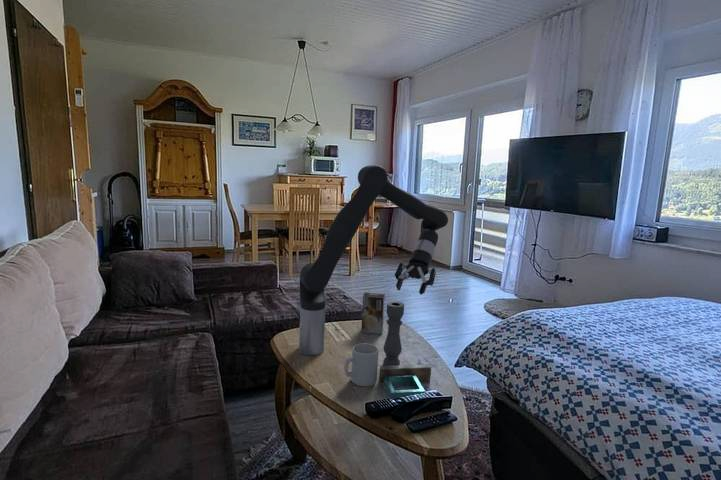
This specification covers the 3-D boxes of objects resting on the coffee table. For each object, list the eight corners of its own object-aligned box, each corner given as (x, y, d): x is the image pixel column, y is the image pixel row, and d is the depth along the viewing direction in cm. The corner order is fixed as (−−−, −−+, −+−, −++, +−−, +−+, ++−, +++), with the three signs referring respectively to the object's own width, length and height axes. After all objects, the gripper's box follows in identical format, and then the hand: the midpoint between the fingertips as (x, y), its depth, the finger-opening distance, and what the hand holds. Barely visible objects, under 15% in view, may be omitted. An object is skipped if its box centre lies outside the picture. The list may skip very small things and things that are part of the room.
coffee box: (383, 329, 177) (385, 293, 174) (381, 334, 171) (384, 298, 168) (362, 326, 179) (364, 291, 176) (360, 332, 172) (362, 296, 170)
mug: (366, 371, 139) (368, 341, 137) (381, 382, 132) (384, 350, 130) (337, 379, 132) (338, 348, 130) (351, 392, 125) (353, 359, 123)
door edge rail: (380, 384, 131) (381, 368, 130) (378, 380, 133) (379, 365, 132) (430, 382, 134) (431, 367, 133) (428, 379, 136) (429, 364, 135)
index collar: (390, 403, 120) (391, 392, 120) (383, 385, 130) (383, 375, 130) (424, 401, 122) (425, 391, 121) (414, 384, 132) (414, 374, 132)
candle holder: (399, 370, 140) (405, 302, 136) (399, 379, 134) (405, 308, 130) (382, 369, 141) (386, 300, 137) (381, 377, 135) (386, 306, 131)
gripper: (402, 246, 152) (388, 282, 144) (439, 251, 145) (426, 289, 137) (407, 257, 157) (393, 293, 149) (442, 263, 151) (430, 300, 143)
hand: (409, 291), depth 143 cm, fingers open, 8 cm apart
